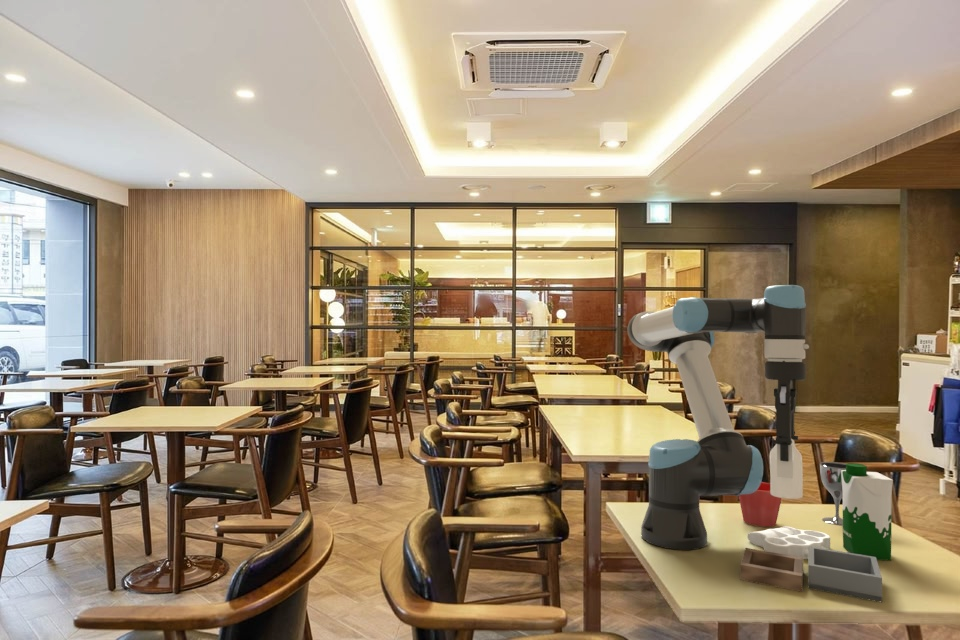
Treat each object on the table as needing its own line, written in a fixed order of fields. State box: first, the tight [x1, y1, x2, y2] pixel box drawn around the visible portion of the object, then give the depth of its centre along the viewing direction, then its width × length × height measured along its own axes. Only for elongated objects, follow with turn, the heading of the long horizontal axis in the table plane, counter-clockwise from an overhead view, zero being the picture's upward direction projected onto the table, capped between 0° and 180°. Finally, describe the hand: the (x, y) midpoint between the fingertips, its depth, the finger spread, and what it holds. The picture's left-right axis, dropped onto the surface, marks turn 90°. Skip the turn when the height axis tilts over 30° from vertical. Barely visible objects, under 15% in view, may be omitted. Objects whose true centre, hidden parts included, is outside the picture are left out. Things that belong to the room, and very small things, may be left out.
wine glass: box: [819, 461, 847, 527], centre depth 158 cm, size 8×8×15 cm
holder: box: [739, 547, 804, 593], centre depth 122 cm, size 11×11×3 cm
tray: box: [807, 546, 883, 602], centre depth 118 cm, size 12×12×4 cm
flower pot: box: [738, 481, 782, 528], centre depth 156 cm, size 11×11×10 cm
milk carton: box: [841, 462, 894, 562], centre depth 135 cm, size 9×9×20 cm
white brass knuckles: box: [746, 525, 831, 560], centre depth 138 cm, size 3×18×15 cm
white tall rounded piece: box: [769, 439, 804, 500], centre depth 121 cm, size 6×12×6 cm
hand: (786, 474), depth 121 cm, fingers closed on white tall rounded piece, 5 cm apart
